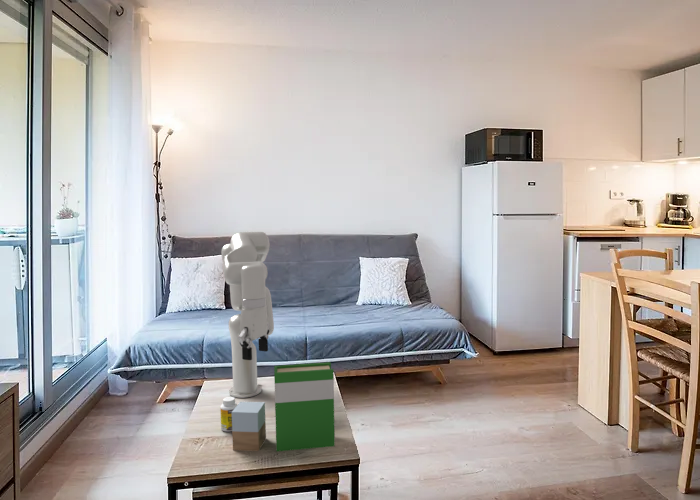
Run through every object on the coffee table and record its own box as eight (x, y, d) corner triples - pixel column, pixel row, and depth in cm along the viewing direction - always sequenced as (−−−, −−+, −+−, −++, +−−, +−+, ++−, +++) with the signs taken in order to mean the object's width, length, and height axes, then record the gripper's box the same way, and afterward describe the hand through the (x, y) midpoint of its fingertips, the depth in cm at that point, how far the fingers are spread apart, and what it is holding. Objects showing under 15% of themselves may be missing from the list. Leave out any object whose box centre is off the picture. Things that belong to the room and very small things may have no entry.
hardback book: (331, 435, 156) (330, 362, 154) (334, 446, 148) (333, 369, 146) (276, 440, 153) (274, 365, 151) (276, 451, 145) (274, 373, 144)
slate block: (240, 419, 154) (240, 401, 154) (265, 420, 153) (264, 402, 153) (232, 431, 146) (231, 412, 146) (258, 432, 145) (257, 412, 145)
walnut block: (241, 438, 155) (240, 419, 154) (265, 438, 154) (265, 420, 153) (232, 450, 147) (232, 431, 146) (258, 451, 146) (258, 432, 145)
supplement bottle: (227, 434, 157) (226, 403, 156) (217, 429, 161) (216, 399, 160) (241, 428, 161) (240, 398, 161) (231, 423, 165) (230, 394, 164)
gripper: (258, 297, 165) (259, 346, 166) (228, 307, 149) (230, 362, 150) (277, 298, 162) (278, 348, 164) (249, 309, 146) (251, 364, 148)
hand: (255, 355), depth 157 cm, fingers open, 9 cm apart
